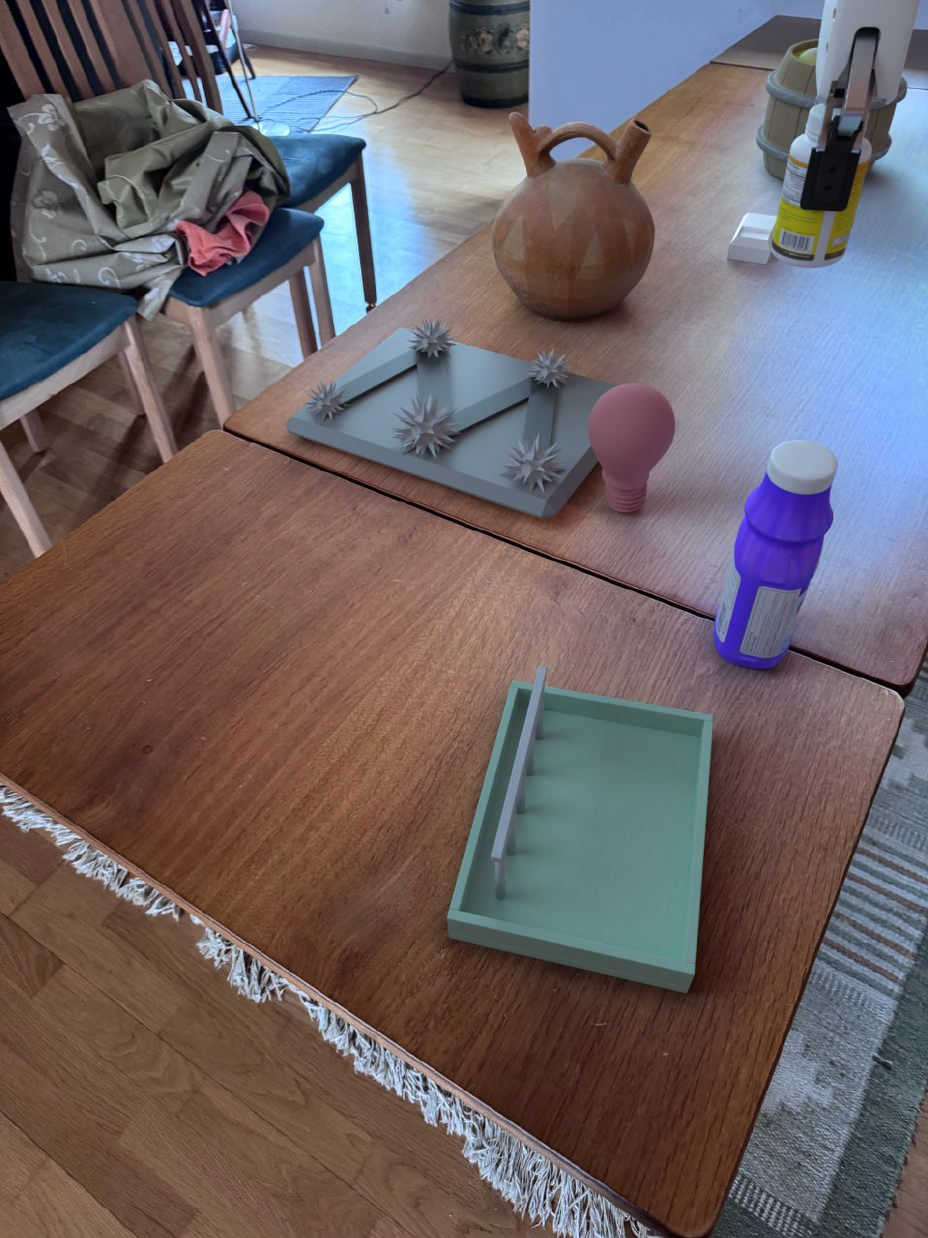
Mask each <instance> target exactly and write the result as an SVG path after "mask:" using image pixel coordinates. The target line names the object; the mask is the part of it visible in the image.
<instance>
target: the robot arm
mask: <svg viewBox="0 0 928 1238" xmlns="http://www.w3.org/2000/svg"><path fill="white" fill-rule="evenodd" d="M920 1H921V0H824V4H823V5H824V6H823V10H822V15H821V23H820V29H819V37H818V39H819V43H818V51H817V60H816V84H817V94H818V97H817V101H816V105H818V104H822V103H825V104H824V111H823V117H822V122H821V127H820V132H819V137H818V142H817V147H812V150H811V154H810V159H809V163H808V168H807V172H806V177H805V181H804V186H803V190H802V195H801V199H800V207H801V209H803V210H815V211H835V212H842V211H844V210H845V209H846V208H847V205H848V201H849V198H850V194H851V190H852V186H853V182H854V178H855V175H856V171H857V167H858V163H859V159H860V155H861V149H860V148H861V144H862V140H863V135H864V130H865V126H866V121H867V117H868V112H869V107H870V104H871V98H872V94H873V89H874V84H875V87H876V92H877V97H878V99H882V103H883V104H884V105H888V104H889V103H891V102H892V101H893V100H894V99H895V98H896V96H897V93H898V89H899V85H900V81H901V76H902V77H903V72H904V67H905V63H906V59H907V56H908V51H909V48H910V42H911V40H912V39H911V38H912V35H913V30H914V27H915V22H916V17H917V15H918V10H919V6H920ZM834 109H841V110H840V115H835V117H834V118H833V120H832V115H833V110H834Z"/></svg>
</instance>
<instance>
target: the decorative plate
mask: <svg viewBox="0 0 928 1238" xmlns="http://www.w3.org/2000/svg"><path fill="white" fill-rule="evenodd" d="M424 320H425V321H424ZM424 320H423V319H421V321H419V322H420V326H421V328H419V327H418V326H417V325H415V324H413V326H414V327H413V328H412V327H411V329H409V328H405V327H402V326H401V327H400V326H399V327H398V328H397V329H396V330H395V331H393V332H392V333H391V334H390V335H389V336H387V337H386V338H385V339H384V340H383V341H382V342H380V343H379V344H378V345H377V346H376V347H374V348H373V349H371V350H370V351H369V352H368V353H367V354H365V356H363V357H362V358H361V359H360V360H358V361H357V362H356V363H355V364H354V365H352V366H351V367H350V368H349V369H348V370H346V371H345V372H344V373H342V374H341V375H340V376H339V377H338V378H337V379H335V380H334V381H333V380H332V381H331V380H329V382H328V384H327V387H326V384H325V383H323V382H322V380H321V379H319V381H320V385H319V384H318V382H317V381H315V382H316V386H317V390H318V392H317V391H315V390H313V389H311V388H310V387H308V389H309V391H310V392H311V393H312V394H311V393H309V392H306V394H307V395H308V397H310V398H311V400H307V401H305V405H304V406H302V407H301V408H300V409H299V410H298V411H297V412H296V413H294V414H293V415H292V416H290V418H289V419H288V420H287V421H286V422H285V425H286V432H287V433H288V434H291V435H294V436H298V437H300V438H304V439H307V440H309V441H312V442H315V443H318V444H322V445H324V446H327V447H329V448H333V449H335V450H339V451H341V452H344V453H347V454H350V455H353V456H356V457H359V458H361V459H365V460H368V461H371V462H374V463H377V464H380V465H383V466H385V467H389V468H391V469H394V470H397V471H401V472H402V473H403V472H404V473H406V474H408V475H412V476H415V477H417V478H421V479H424V480H427V481H429V482H432V483H436V484H438V485H442V486H445V487H447V488H450V489H453V490H456V491H458V492H462V493H465V494H468V495H469V496H470V495H471V496H474V497H477V498H479V499H481V500H485V501H488V502H490V503H494V504H497V505H500V506H503V507H506V508H509V509H512V510H514V511H518V512H520V513H524V514H527V515H530V516H532V517H535V518H538V519H541V520H544V521H547V520H549V519H552V518H553V517H555V516H557V515H558V514H559V513H560V511H561V510H562V509H563V507H564V506H565V504H567V502H568V501H569V500H570V499H571V497H572V496H573V495H574V493H575V492H576V491H577V490H578V488H579V487H580V486H581V485H582V483H583V482H584V480H585V479H586V478H587V477H588V475H589V474H590V472H591V471H592V470H593V469H594V467H595V466H596V465H597V464H598V462H599V460H598V459H597V457H596V455H595V452H594V450H593V448H592V446H591V443H590V440H589V435H588V422H589V417H590V414H591V411H592V409H593V407H594V405H595V404H596V402H597V401H598V400H599V398H600V397H601V396H602V395H603V394H605V393H606V392H607V391H609V390H610V389H612V388H614V387H616V386H619V385H620V384H619V385H618V384H615V383H611V382H607V381H604V380H600V379H596V378H593V377H589V376H585V375H582V374H576V373H573V372H569V370H570V369H572V366H564V365H565V363H566V362H567V361H568V360H569V359H570V357H568V358H565V357H566V355H565V354H563V355H562V356H560V357H559V358H558V359H557V355H558V350H555V353H554V348H552V350H549V354H547V353H546V350H545V348H543V350H541V354H542V355H541V354H540V353H539V352H537V354H538V357H539V358H538V357H537V356H534V357H535V359H533V358H531V360H532V361H531V360H525V359H521V358H517V357H513V356H510V355H508V354H507V355H506V354H502V353H499V352H495V351H492V350H491V351H490V350H488V349H483V348H480V347H476V346H474V345H470V344H465V343H461V342H459V341H458V342H457V341H454V339H456V338H457V336H451V333H449V332H450V331H451V330H452V329H453V328H454V326H453V327H450V325H448V322H446V323H445V324H444V325H443V326H442V327H441V322H442V320H441V319H440V317H437V320H436V315H434V319H433V322H432V318H430V319H429V322H428V319H427V318H426V317H424ZM449 327H450V328H449ZM564 358H565V359H564ZM563 359H564V360H563ZM320 386H321V387H320Z"/></svg>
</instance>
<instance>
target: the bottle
mask: <svg viewBox="0 0 928 1238" xmlns="http://www.w3.org/2000/svg"><path fill="white" fill-rule="evenodd" d="M838 466H839V461H838V459H837V457H836V455H835V453H834V452H833V451H832V450H831V449H829V448H828V447H826V446H824V445H822V444H820V443H818V442H815V441H810V440H804V439H793V440H786V441H784V442H781V443H779V444H777V446H775V447H774V448H773V449H772V451H771V453H770V455H769V461H768V463H767V466H766V471H765V473H764V476H763V479H762V481H761V483H760V484H759V486H757V487H755V489H753V490H752V491H751V492H750V493H749V494H748V496H747V497H746V499H745V501H744V505H743V510H744V516H743V518H742V519H741V522H740V524H739V527H738V530H737V533H736V538H735V540H734V541H735V542H734V547H733V554H732V558H731V561H730V566H729V569H728V572H727V577H726V580H725V583H724V587H723V592H722V594H721V598H720V601H719V602H720V603H719V605H718V606H717V610H716V614H715V616H714V617H715V618H714V625H713V640H714V646H715V649H716V651H717V654H718V656H720V658H723V659H724V660H726V661H727V662H729V663H732V664H734V665H736V666H739V667H740V666H741V667H747V668H749V669H758V670H764V669H772V668H773V667H775V666H777V664H778V663H780V662H781V661H782V660H783V658H784V657H785V656H786V654H787V652H788V650H789V648H790V646H791V643H792V639H793V635H794V630H795V628H796V625H797V621H798V618H799V616H800V613H801V610H802V607H803V604H804V601H805V599H806V595H807V592H808V590H809V588H810V585H811V582H812V580H813V577H814V576H815V574H816V572H817V570H818V567H819V563H820V560H821V556H822V552H823V548H824V540H825V535H826V534H827V533H828V532H829V530H830V529H831V527H832V525H833V522H834V519H835V518H834V517H835V516H834V510H833V508H832V505H831V499H830V498H831V491H832V486H833V483H834V480H835V476H836V473H837V470H838Z"/></svg>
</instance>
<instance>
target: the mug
mask: <svg viewBox="0 0 928 1238" xmlns="http://www.w3.org/2000/svg"><path fill="white" fill-rule="evenodd" d="M818 43H819V38H813V39H808V40H802V41H800V42H796V43H795V44H792V45H790V46H789V48H787V50H786V53H785V54H784V56H783V58H782V60H781V63H780V65H779V66H778V68H775V69H774V70H773V71H771V72H770V73H769V74H768V76H767V80H766V82H765V85H764V86H765V90H766V91H767V94H769V96H768V100H767V105H766V108H765V114H764V120H763V123H762V124H760V125H759V126H758V127H757V130H756V132H755V143H756V145H757V147H758V148H759V149H760V150H761V151H762V156H763V165H764V168H765V169H766V172H768V173H769V174H770V175H772V176H774V177H775V178H776V179H779V180H782V181H784V178H785V173H786V168H787V163H788V158H789V153H790V149H791V145H792V143H793V142H794V140H795V139H796V138H797V137H799V136H801V135H803V134H805V130H806V124H807V121H808V117H809V113H810V110H811V108H812V107H814V106H815V105H816V101H817V97H818V94H817V84H816V60H817V51H818ZM907 93H908V82H907V80H906V79H905V78H904V76H903V75H902V76H901V81H900V85H899V89H898V93H897V96H896V98H895V99H894V100H893V101H892V102H891V103H889V104H888V105H884V104H883V103H882V99H878V97H877V92H876V87H875V84H874V89H873V94H872V98H871V104H870V107H869V117H868V121H867V125H866V131H865V134H864V138H866V139H867V140H868V141H869V142H870V144H871V147H872V152H871V157H870V161H869V164H868V168H867V172H866V176H867V175H868V174H869V172H870V170H871V169H872V167H873V166H874V164H875V162H876V161H878V160H881V159H882V158H884V157H885V156H886V155H887V153H888V152H889V151H890V148H891V146H892V145H893V139H892V137H891V135H890V133H889V132H890V130H891V127H892V123H893V121H894V116H895V113H896V110H897V106H898V104H899V103H900V102H902V101H903V100H905V98H906V96H907Z"/></svg>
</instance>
